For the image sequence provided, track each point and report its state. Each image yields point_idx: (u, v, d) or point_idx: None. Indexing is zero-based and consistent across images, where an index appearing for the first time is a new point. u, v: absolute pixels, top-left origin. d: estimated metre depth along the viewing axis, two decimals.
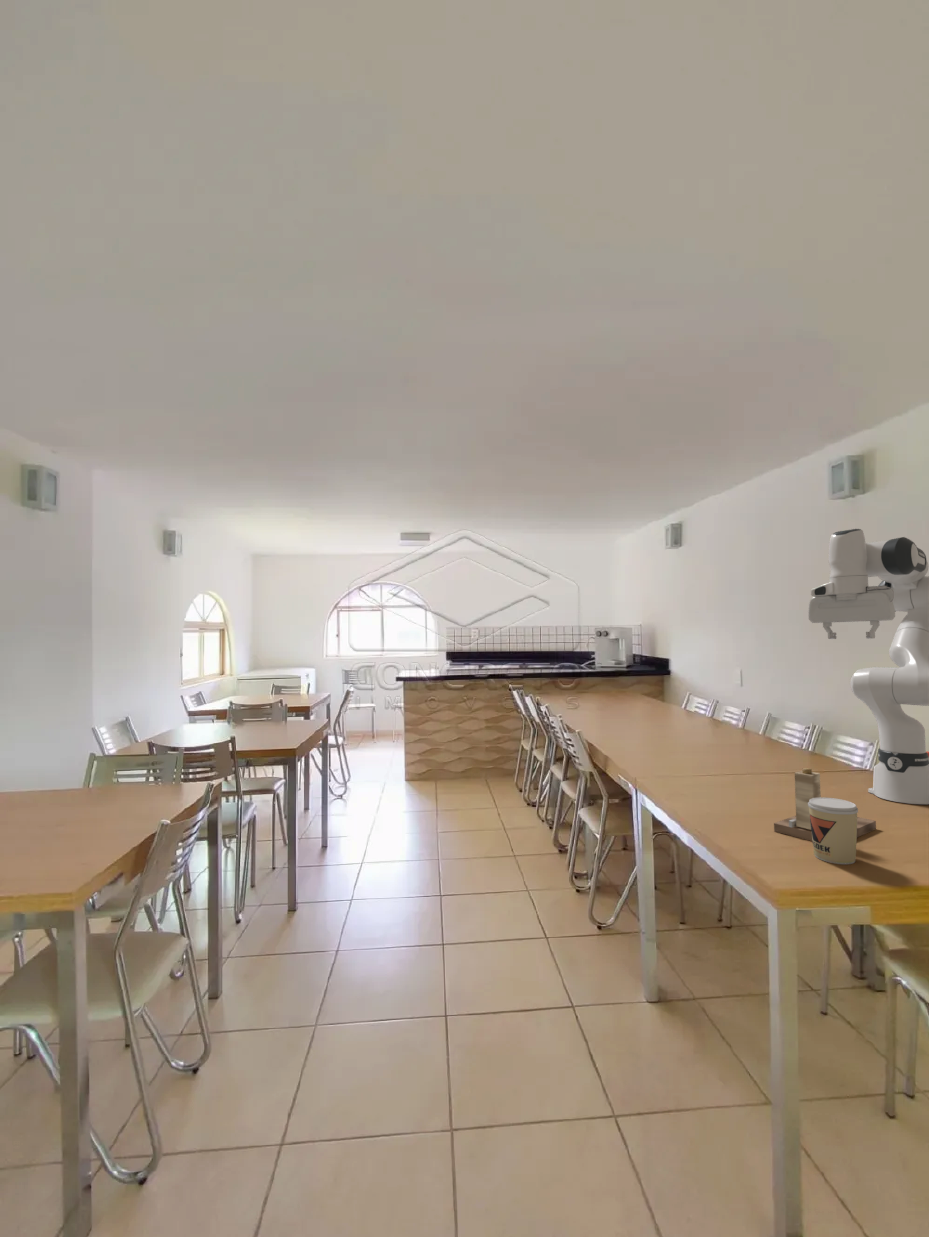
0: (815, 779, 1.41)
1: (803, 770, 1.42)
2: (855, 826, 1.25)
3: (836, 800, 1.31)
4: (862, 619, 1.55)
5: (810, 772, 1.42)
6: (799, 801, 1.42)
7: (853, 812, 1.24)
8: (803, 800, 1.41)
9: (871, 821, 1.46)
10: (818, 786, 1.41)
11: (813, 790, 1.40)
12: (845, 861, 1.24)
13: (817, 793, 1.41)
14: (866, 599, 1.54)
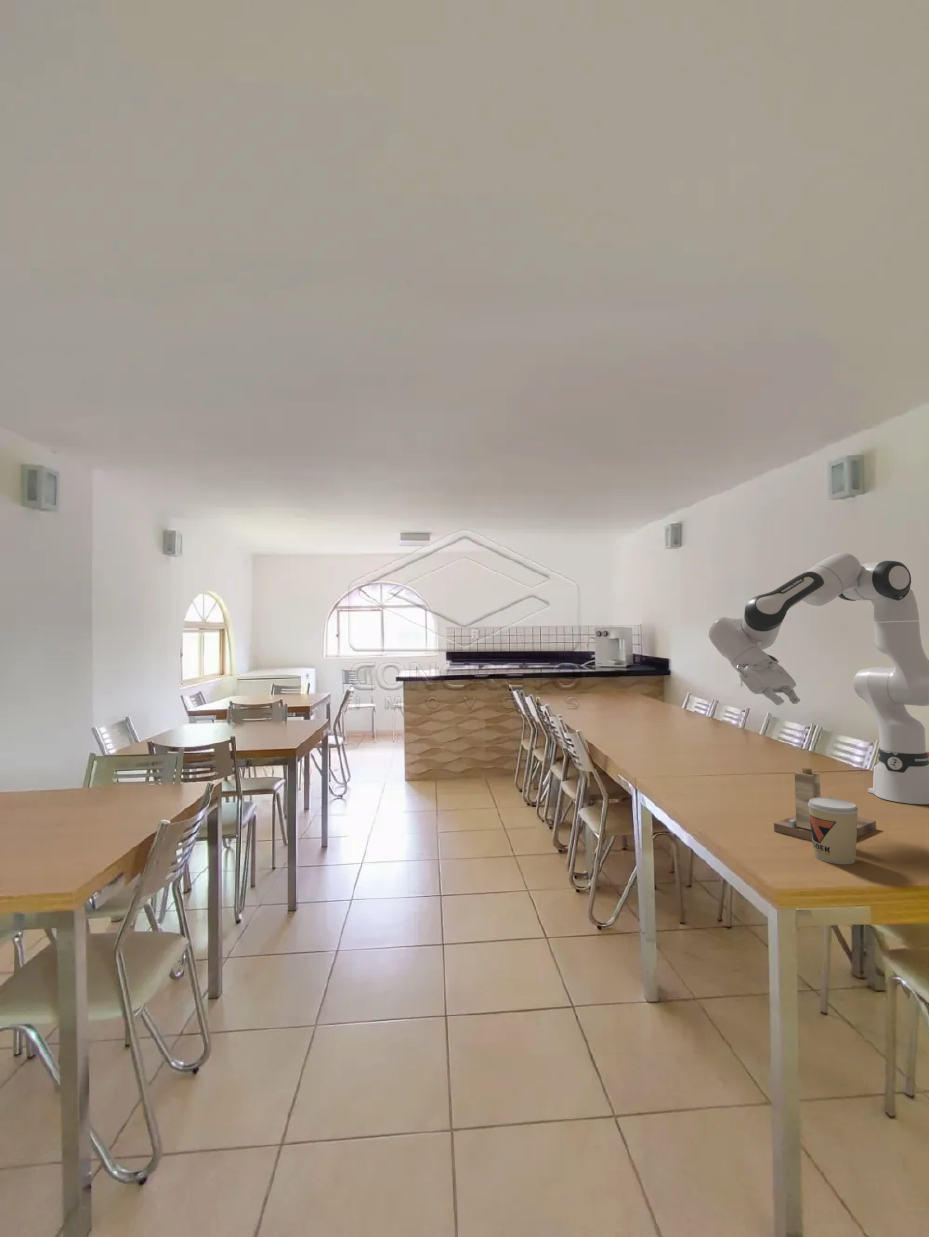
0: (815, 779, 1.41)
1: (803, 770, 1.42)
2: (855, 826, 1.25)
3: (836, 800, 1.31)
4: None
5: (810, 772, 1.42)
6: (799, 801, 1.42)
7: (853, 812, 1.24)
8: (803, 800, 1.41)
9: (871, 821, 1.46)
10: (818, 786, 1.41)
11: (813, 790, 1.40)
12: (845, 861, 1.24)
13: (817, 793, 1.41)
14: None
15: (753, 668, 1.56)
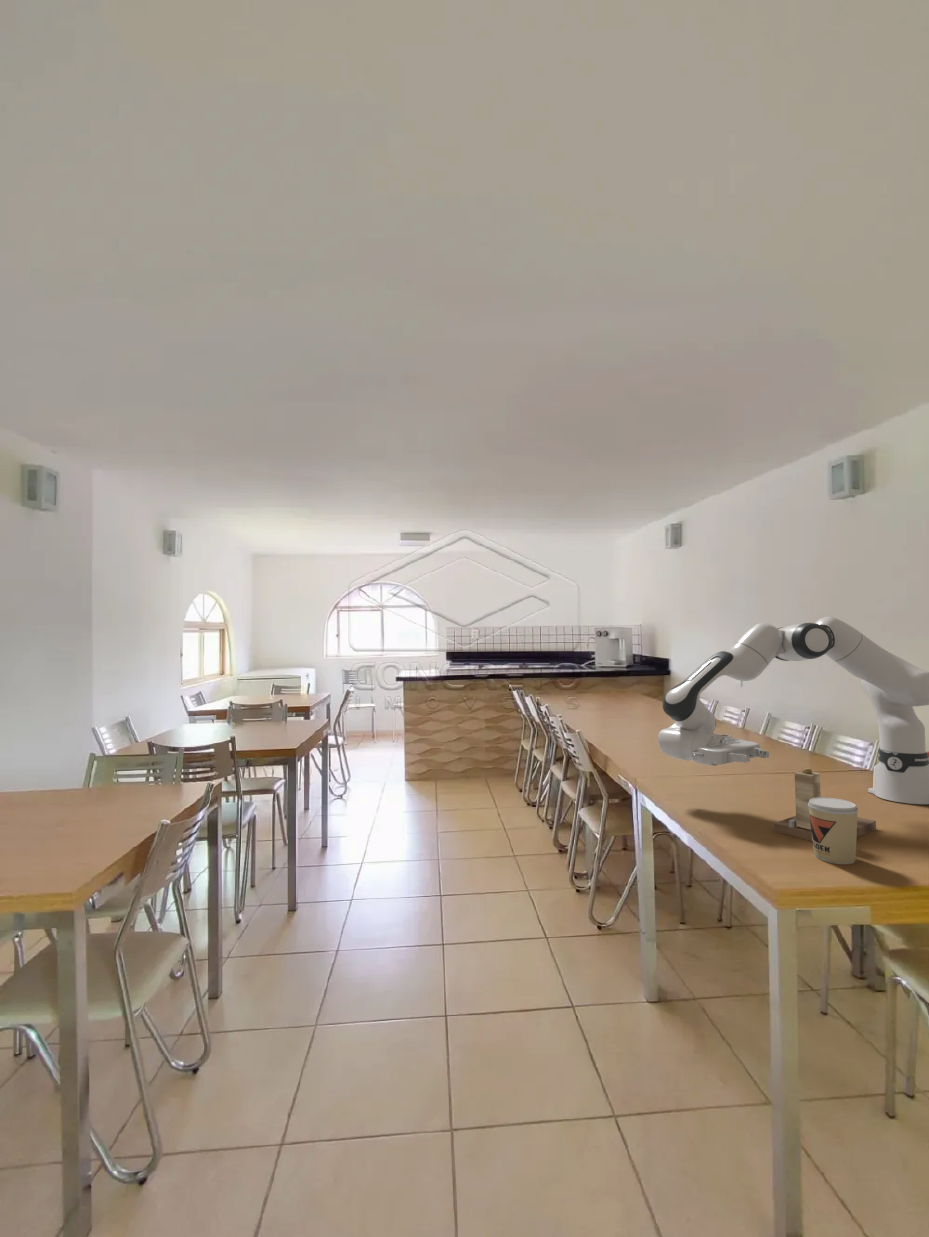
0: (815, 779, 1.41)
1: (803, 770, 1.42)
2: (855, 826, 1.25)
3: (836, 800, 1.31)
4: None
5: (810, 772, 1.42)
6: (799, 801, 1.42)
7: (853, 812, 1.24)
8: (803, 800, 1.41)
9: (871, 821, 1.46)
10: (818, 786, 1.41)
11: (813, 790, 1.40)
12: (845, 861, 1.24)
13: (817, 793, 1.41)
14: None
15: (705, 746, 1.57)
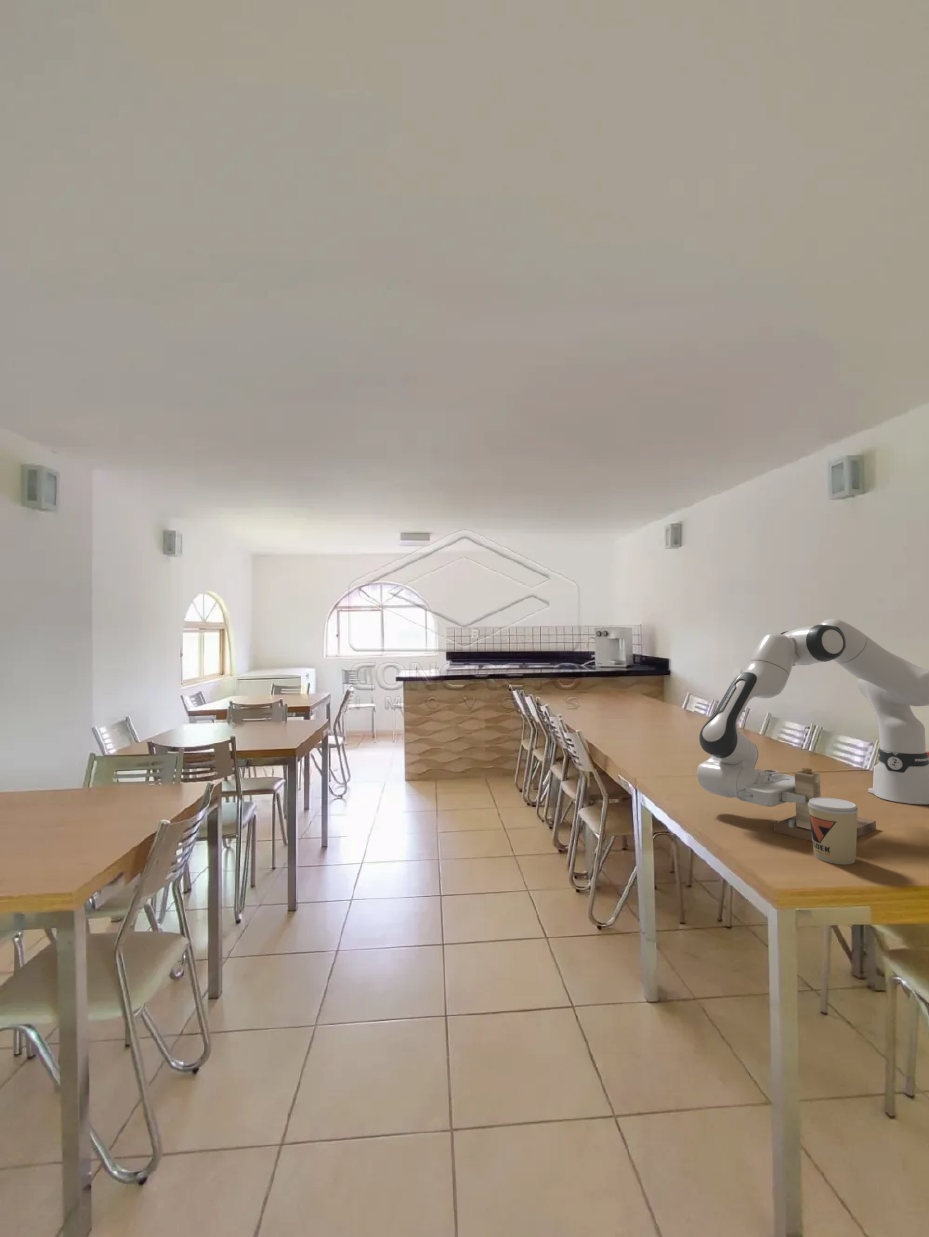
0: (815, 779, 1.41)
1: (803, 770, 1.42)
2: (855, 826, 1.25)
3: (836, 800, 1.31)
4: (783, 802, 1.44)
5: (810, 772, 1.42)
6: None
7: (853, 812, 1.24)
8: None
9: (871, 821, 1.46)
10: (818, 786, 1.41)
11: (813, 790, 1.40)
12: (845, 861, 1.24)
13: (817, 793, 1.41)
14: None
15: (753, 786, 1.46)
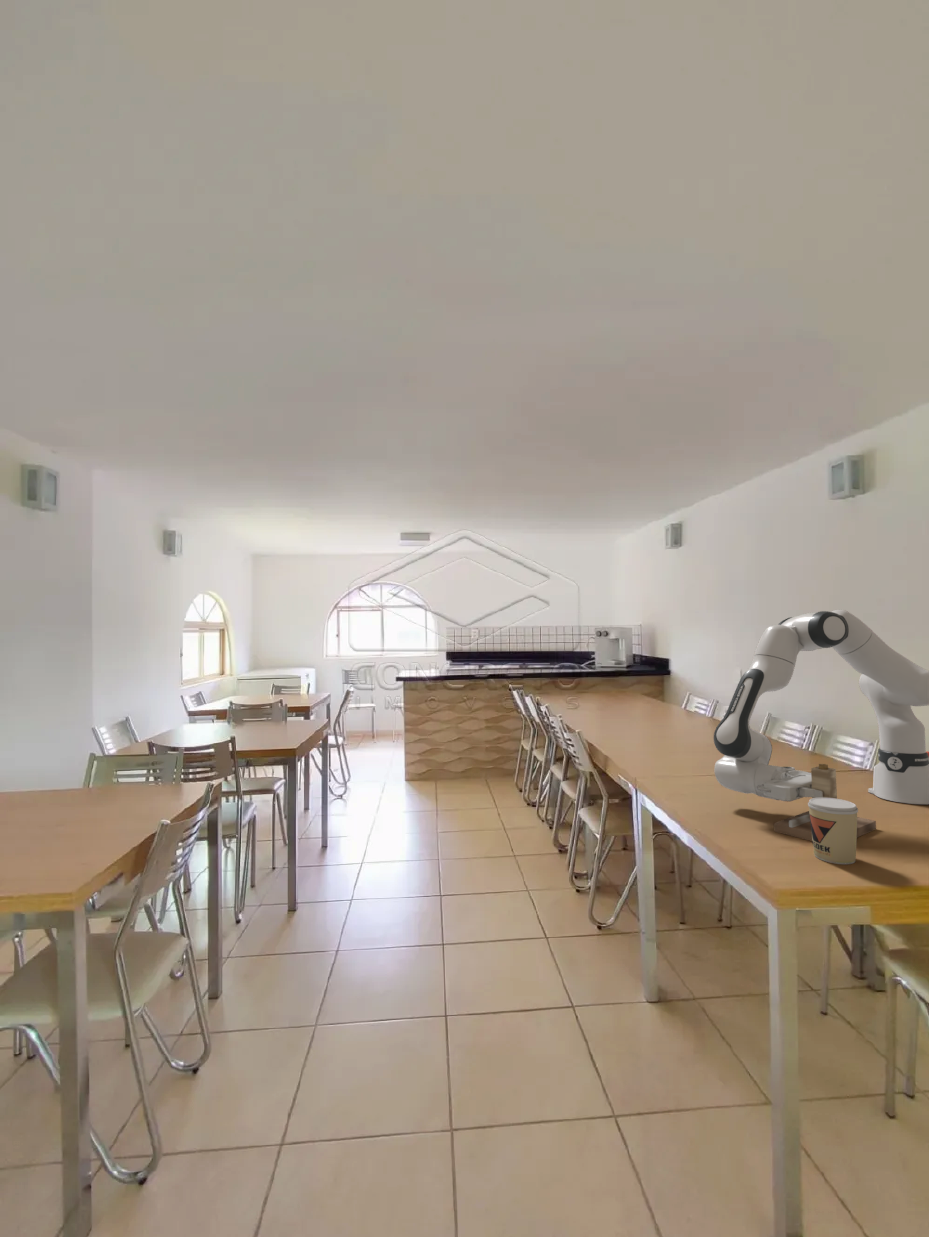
0: (831, 774, 1.45)
1: (819, 766, 1.47)
2: (855, 826, 1.25)
3: (836, 800, 1.31)
4: (800, 797, 1.48)
5: (826, 767, 1.46)
6: None
7: (853, 812, 1.24)
8: None
9: (871, 821, 1.46)
10: (834, 781, 1.46)
11: (830, 785, 1.45)
12: (845, 861, 1.24)
13: (833, 788, 1.46)
14: None
15: (771, 781, 1.51)
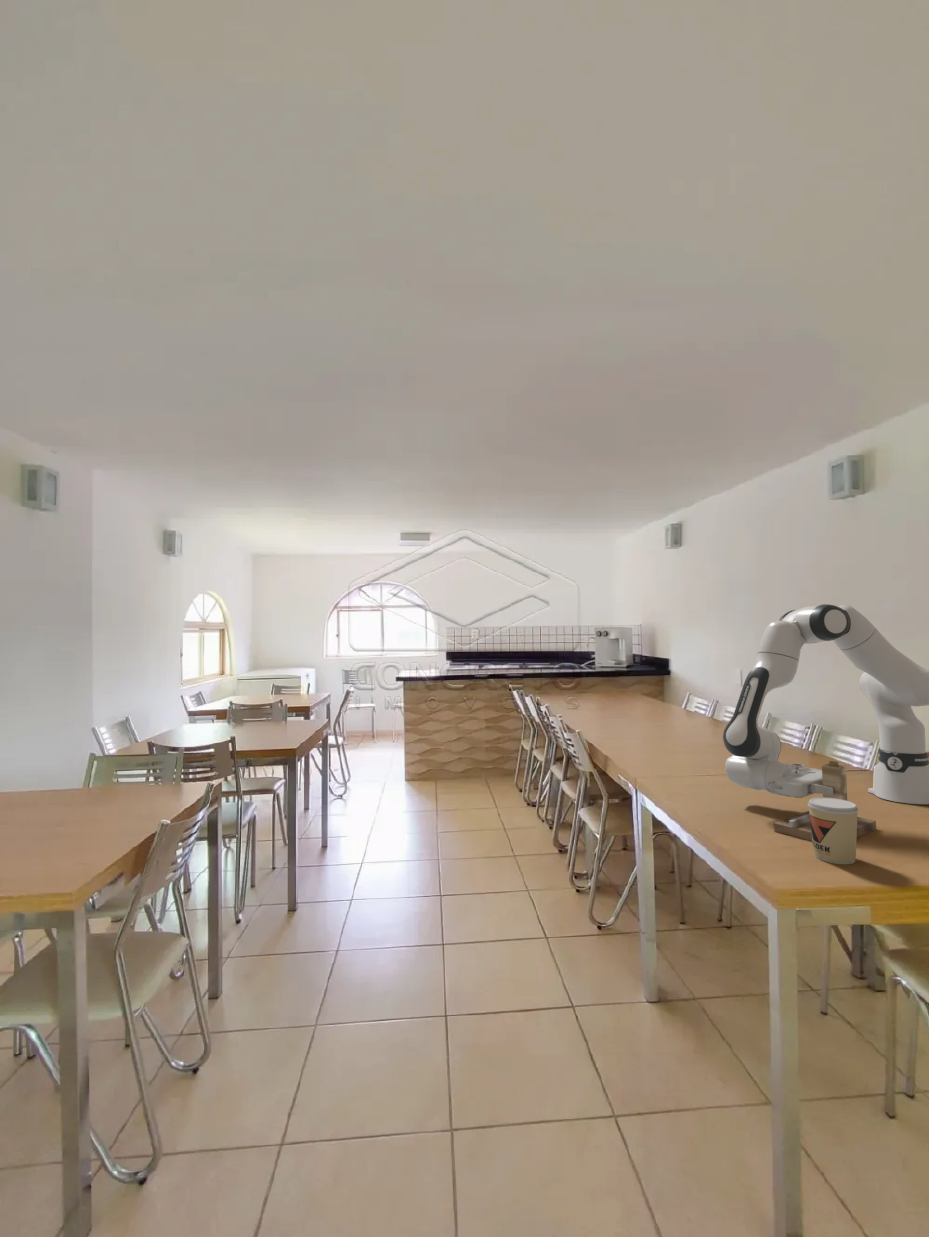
0: (842, 771, 1.48)
1: (830, 763, 1.50)
2: (855, 826, 1.25)
3: (836, 800, 1.31)
4: None
5: (837, 765, 1.49)
6: None
7: (853, 812, 1.24)
8: None
9: (871, 821, 1.46)
10: (845, 778, 1.49)
11: (840, 782, 1.48)
12: (845, 861, 1.24)
13: (843, 785, 1.49)
14: None
15: (782, 778, 1.54)
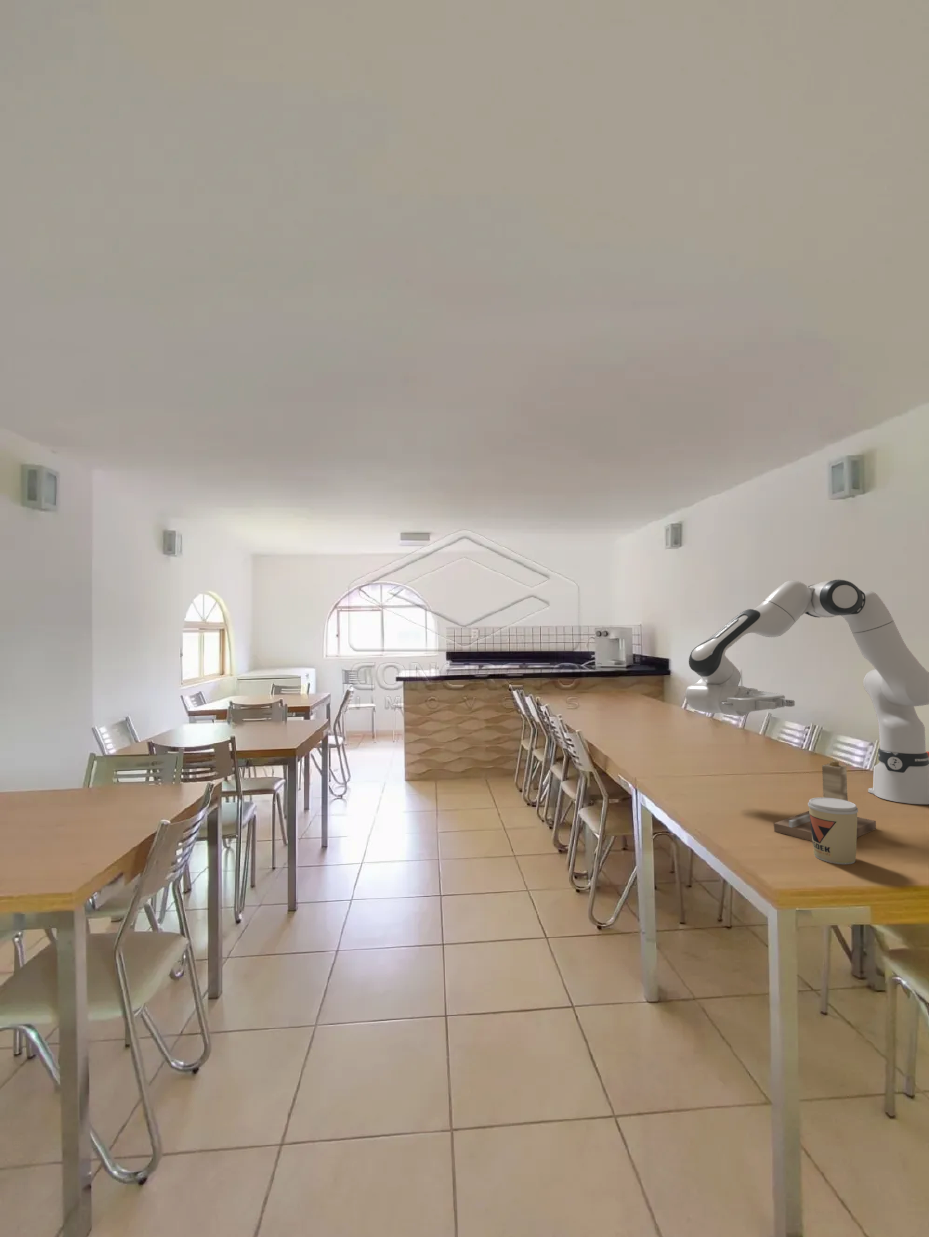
0: (842, 771, 1.48)
1: (830, 763, 1.50)
2: (855, 826, 1.25)
3: (836, 800, 1.31)
4: None
5: (837, 765, 1.49)
6: (827, 792, 1.50)
7: (853, 812, 1.24)
8: (830, 791, 1.49)
9: (871, 821, 1.46)
10: (845, 778, 1.49)
11: (840, 781, 1.48)
12: (845, 861, 1.24)
13: (844, 784, 1.49)
14: None
15: None
